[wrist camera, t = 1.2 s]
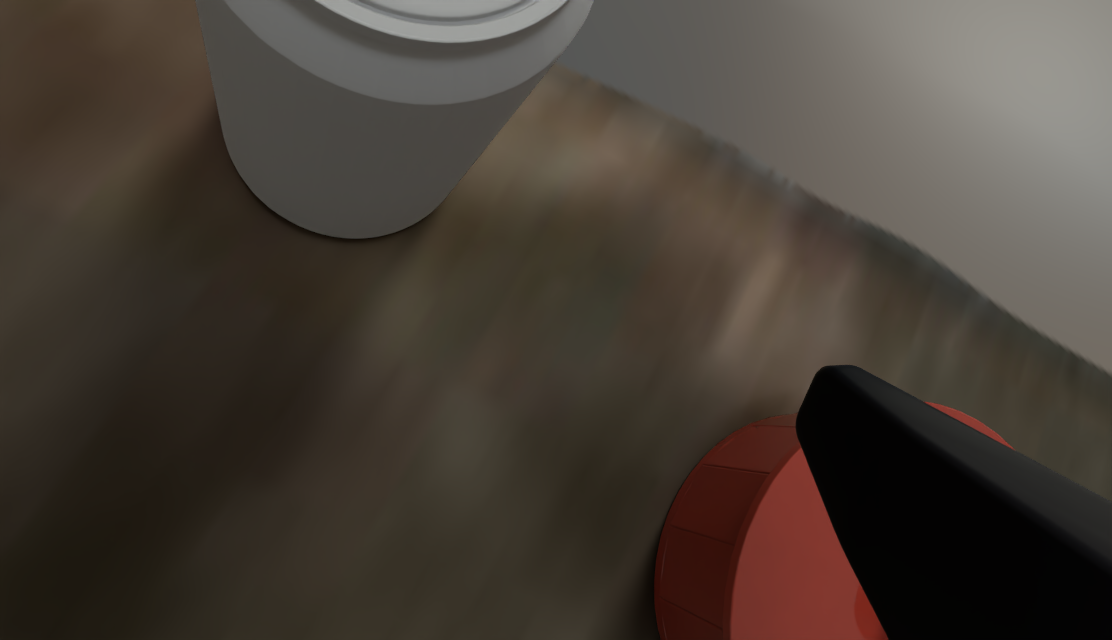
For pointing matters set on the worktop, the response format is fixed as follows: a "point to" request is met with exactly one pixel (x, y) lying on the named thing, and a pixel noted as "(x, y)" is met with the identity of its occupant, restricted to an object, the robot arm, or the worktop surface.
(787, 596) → the pot lid
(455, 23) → the beverage can
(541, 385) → the worktop surface
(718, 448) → the pot
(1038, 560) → the robot arm
